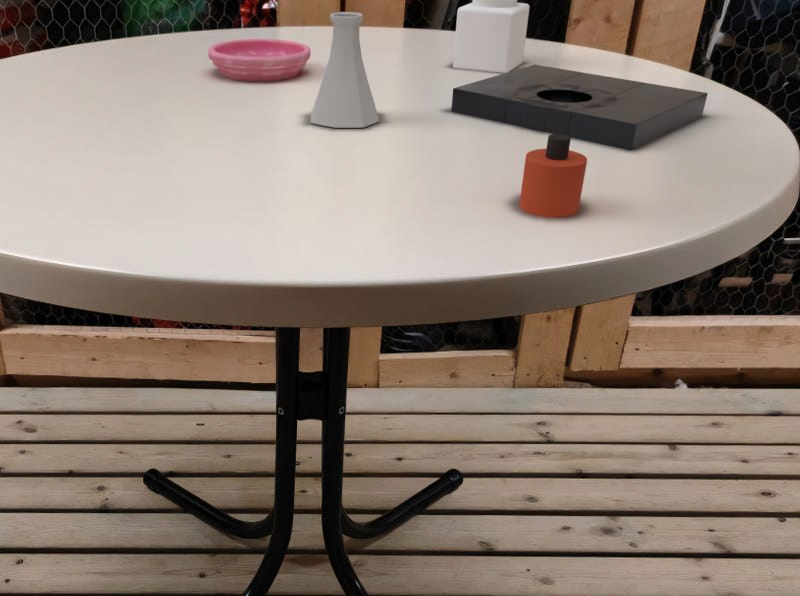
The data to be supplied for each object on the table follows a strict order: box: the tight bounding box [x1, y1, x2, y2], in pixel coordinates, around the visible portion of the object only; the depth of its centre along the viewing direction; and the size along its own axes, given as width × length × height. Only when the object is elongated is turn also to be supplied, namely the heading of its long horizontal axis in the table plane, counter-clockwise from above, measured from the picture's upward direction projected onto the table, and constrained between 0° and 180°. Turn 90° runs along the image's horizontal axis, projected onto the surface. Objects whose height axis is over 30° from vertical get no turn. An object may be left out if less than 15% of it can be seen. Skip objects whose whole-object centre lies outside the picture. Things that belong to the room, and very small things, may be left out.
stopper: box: [518, 133, 588, 219], centre depth 62 cm, size 4×4×6 cm
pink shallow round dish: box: [207, 38, 311, 82], centre depth 102 cm, size 12×12×3 cm
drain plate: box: [450, 64, 708, 151], centre depth 86 cm, size 20×16×2 cm
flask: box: [310, 11, 380, 129], centre depth 82 cm, size 7×7×10 cm
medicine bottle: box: [452, 0, 530, 74], centre depth 103 cm, size 7×7×12 cm
